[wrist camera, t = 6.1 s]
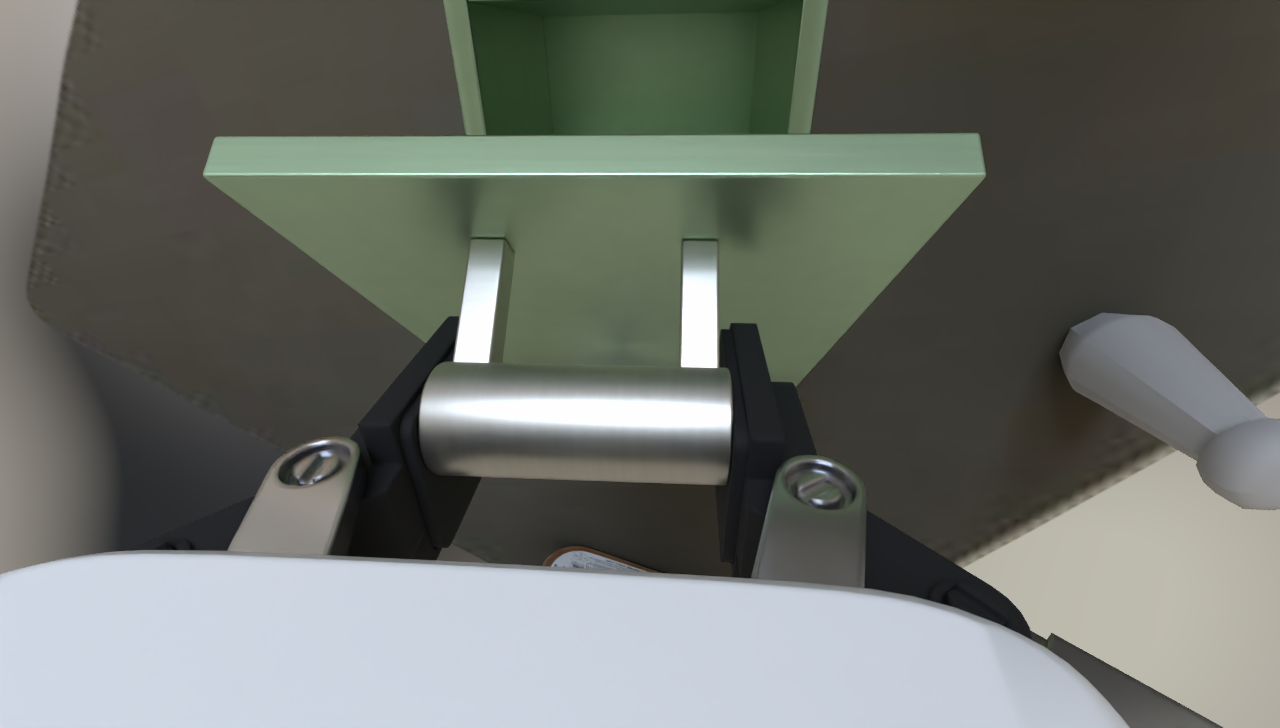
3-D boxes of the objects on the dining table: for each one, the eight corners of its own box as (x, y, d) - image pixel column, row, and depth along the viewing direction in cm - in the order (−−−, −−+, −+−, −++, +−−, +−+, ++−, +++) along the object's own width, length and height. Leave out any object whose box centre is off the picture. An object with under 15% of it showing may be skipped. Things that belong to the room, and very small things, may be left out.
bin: (528, -2, 27) (437, -29, 17) (775, -7, 26) (834, -39, 16) (557, 287, 35) (507, 387, 25) (746, 290, 34) (774, 394, 24)
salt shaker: (1084, 289, 33) (1292, 417, 22) (1169, 311, 33) (1418, 448, 22) (1026, 368, 36) (1183, 516, 25) (1105, 387, 36) (1295, 542, 25)
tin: (539, 550, 48) (514, 639, 41) (550, 528, 47) (526, 616, 39) (690, 600, 50) (692, 693, 43) (705, 580, 49) (709, 674, 42)
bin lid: (213, 134, 9) (111, 451, 7) (980, 130, 8) (1041, 482, 7) (505, 384, 25) (492, 501, 23) (775, 391, 24) (780, 512, 22)
